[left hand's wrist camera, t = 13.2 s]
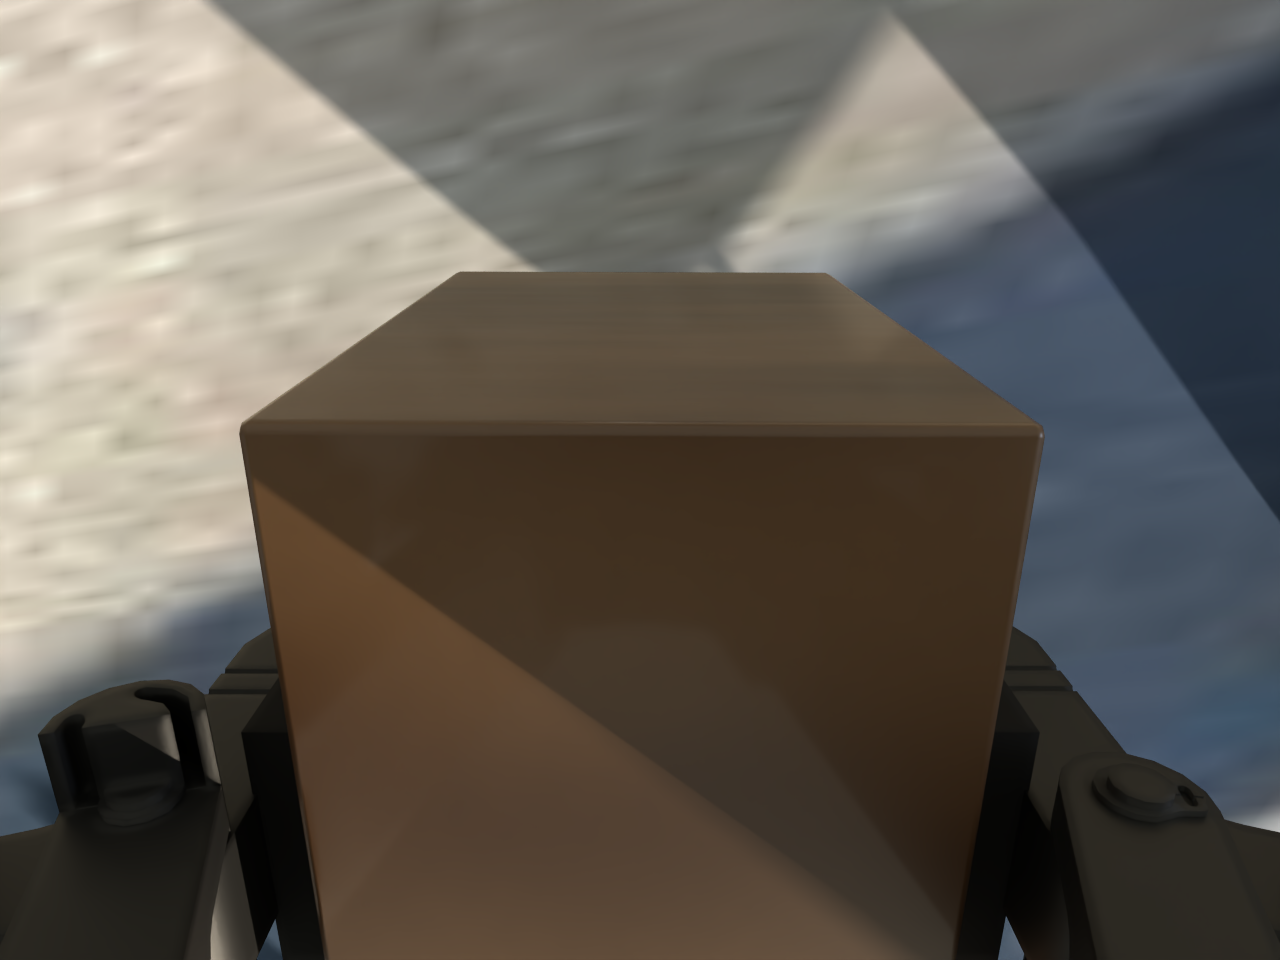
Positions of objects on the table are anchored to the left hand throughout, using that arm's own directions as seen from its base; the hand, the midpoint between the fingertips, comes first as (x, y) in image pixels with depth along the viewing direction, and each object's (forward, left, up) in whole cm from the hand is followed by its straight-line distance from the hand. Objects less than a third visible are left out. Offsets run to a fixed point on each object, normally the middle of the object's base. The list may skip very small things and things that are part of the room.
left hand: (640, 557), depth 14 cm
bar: (+3, +25, -1) cm, 26 cm away
